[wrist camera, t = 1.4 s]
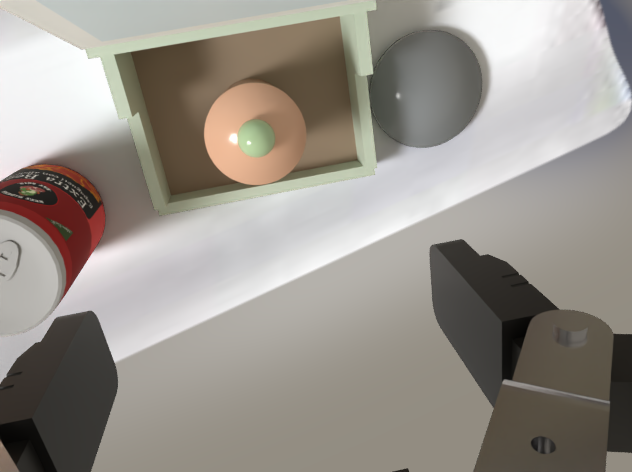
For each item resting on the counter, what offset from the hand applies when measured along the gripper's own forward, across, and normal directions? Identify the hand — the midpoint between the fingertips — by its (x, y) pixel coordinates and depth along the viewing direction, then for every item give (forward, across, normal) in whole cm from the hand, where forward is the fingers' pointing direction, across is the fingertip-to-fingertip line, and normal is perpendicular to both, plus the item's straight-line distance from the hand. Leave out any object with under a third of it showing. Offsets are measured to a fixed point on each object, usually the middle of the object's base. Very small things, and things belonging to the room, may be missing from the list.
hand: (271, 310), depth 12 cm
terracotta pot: (+27, 0, 0) cm, 27 cm away
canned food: (+28, +16, +5) cm, 33 cm away
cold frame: (+28, 0, 0) cm, 28 cm away
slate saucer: (+28, -13, 0) cm, 31 cm away
